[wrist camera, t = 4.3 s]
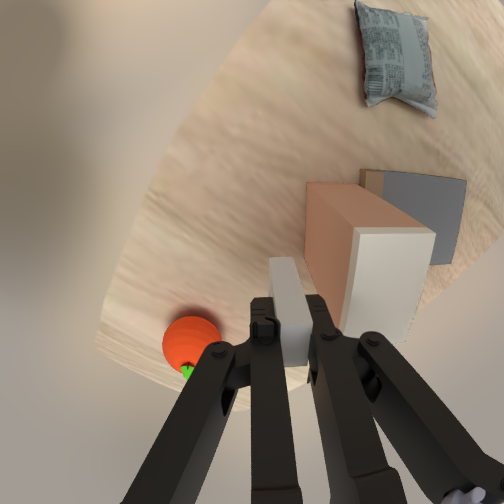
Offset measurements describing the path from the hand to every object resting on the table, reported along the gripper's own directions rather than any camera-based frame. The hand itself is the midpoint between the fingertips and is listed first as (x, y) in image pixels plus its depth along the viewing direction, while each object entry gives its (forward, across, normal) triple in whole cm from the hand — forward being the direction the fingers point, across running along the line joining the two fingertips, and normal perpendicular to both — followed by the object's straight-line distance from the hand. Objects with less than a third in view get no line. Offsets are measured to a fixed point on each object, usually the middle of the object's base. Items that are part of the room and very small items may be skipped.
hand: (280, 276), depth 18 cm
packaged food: (+11, -13, -18) cm, 25 cm away
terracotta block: (+11, -6, 0) cm, 12 cm away
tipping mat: (+11, -17, 0) cm, 20 cm away
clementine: (+11, +9, +14) cm, 20 cm away
